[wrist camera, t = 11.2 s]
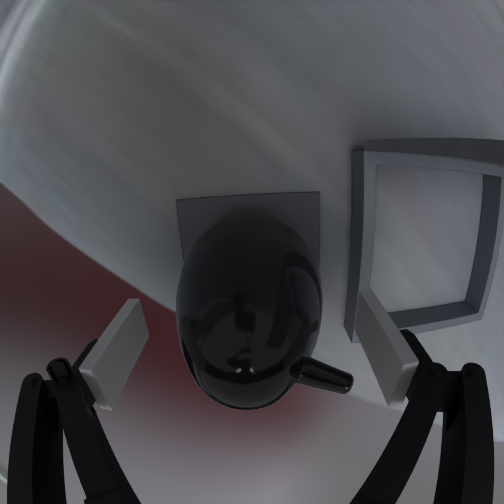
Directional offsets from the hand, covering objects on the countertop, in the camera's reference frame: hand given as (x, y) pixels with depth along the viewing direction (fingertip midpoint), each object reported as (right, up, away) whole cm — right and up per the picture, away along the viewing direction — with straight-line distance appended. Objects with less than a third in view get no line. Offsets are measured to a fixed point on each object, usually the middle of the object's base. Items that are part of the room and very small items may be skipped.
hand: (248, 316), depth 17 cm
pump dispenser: (0, +3, +9) cm, 10 cm away
